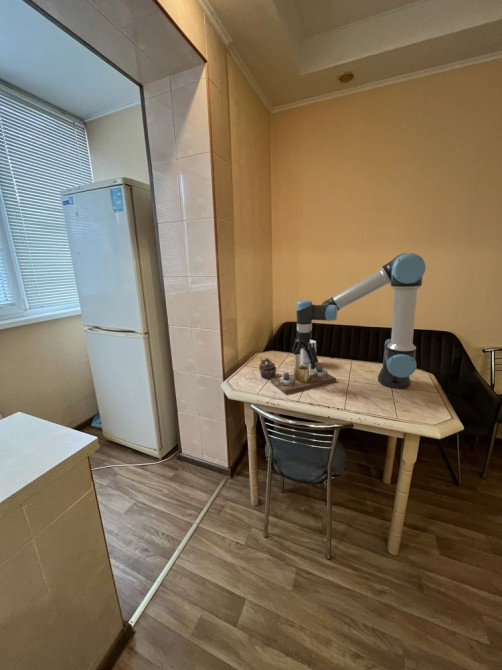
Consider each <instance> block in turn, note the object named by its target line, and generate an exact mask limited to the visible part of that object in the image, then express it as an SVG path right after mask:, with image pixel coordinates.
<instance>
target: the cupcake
mask: <svg viewBox="0 0 502 670" xmlns="http://www.w3.org/2000/svg"><path fill="white" fill-rule="evenodd" d="M258 369H259V371H260V372H259V373H260V376H261V378H262V379H265V380H269V379H270V380H271V379H274V378H276V372H277V367H276V364H275V363H274V362H273V361H272V360H271V359H268V358H265V359H261V360H260V363H259V367H258Z"/></svg>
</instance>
